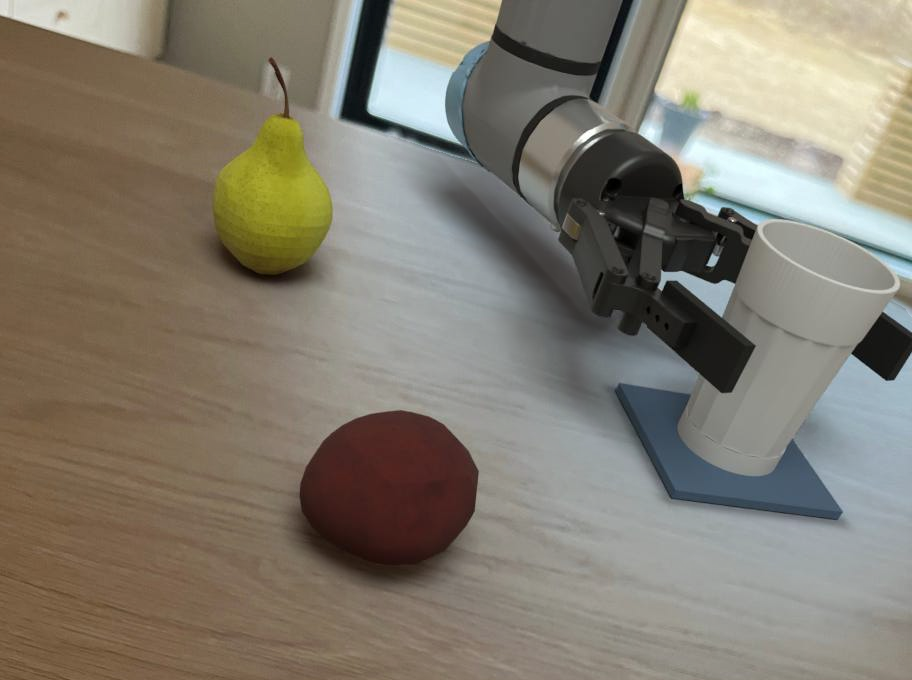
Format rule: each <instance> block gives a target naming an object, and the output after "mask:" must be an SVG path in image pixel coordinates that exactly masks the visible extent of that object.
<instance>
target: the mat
mask: <svg viewBox="0 0 912 680" xmlns="http://www.w3.org/2000/svg"><path fill="white" fill-rule="evenodd" d="M615 392H616V394H617V397H618V398H619V401H620V402H621V404H622V406H623V408H624V409H625V411H626V413H627V416H628V417H629V420H630V421H631V423H632V425H633V427H634V429H635V431H636V433H637V435H638V436H639V438H640V440H641V442H642V444H643V446H644V448H645V450H646V452H647V454H648V456H649V458H650V459H651V461H652V463H653V465H654V467H655V469H656V471H657V473H658V475H659V477H660V479H661V481H662V483H663V485H664V487H665V488H666V490H667V493H668V494H669V496H670V498H671V499H676V500H684V501H691V502H699V503H706V504H715V505H723V506H730V507H739V508H745V509H754V510H762V511H770V512H778V513H784V514H792V515H800V516H807V517H816V518H824V519H832V520H839V519H840V517H841V516H842V514H843V513H844V512H843V510H842V508H841V506H840V505H839V503H838V502H837V501H836V499H835V498H834V497H833V495H832V494H831V492H830V491H829V490H828V488H827V487H826V484H824V482H823V480H822V479H821V478H820V476H819V475H818V474H817V472H816V470H815V469H814V468H813V466H812V465H811V464H810V462H809V461H808V459H807V458H806V456H805V455H804V453H803V452H802V450H801V449H800V448H799V446H798V445H797V443H796V442H795V440H794V439H793V438H792V440H791V441H790V443H789V444H788V445H787V447H786V450H785V452H784V454H783V455H782V457H781V459H780V460H779V462H778V464H777V466H776V467H775V469H774V470H773V471H772V472H771V473H769V474H767V475H763V476H745V475H740V474H736V473H732V472H729V471H726V470H723V469H721V468H719V467H716V466H714V465H712V464H710V463H709V462H707V461H705V460H704V459H702V458H701V457H699V456H698V455H696V454H695V453H694V452H693V451H691V450H690V449H689V448H688V447H687V446H686V445H685V443H684V442H683V441H682V439H681V438H680V436H679V434H678V430H677V425H678V422H679V420H680V418H681V416H682V414H683V412H684V410H685V408H686V406H687V404H688V401H689V399H690V396H691V394H692V393H691V394H690V393H684V392H677V391H672V390H667V389H660V388H654V387H647V386H642V385H636V384H635V385H634V384H628V383H624V382H623V383H622V382H619V383H618V384H617V386H616V389H615Z"/></svg>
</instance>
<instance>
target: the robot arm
mask: <svg viewBox="0 0 912 680" xmlns="http://www.w3.org/2000/svg"><path fill="white" fill-rule="evenodd" d="M622 4H623V0H501V2H500V7H499V10H498V14H497V19H496V22H495V24H494V28H493V30H492V31H493V32H492V34H491V35H490V40H487V41H483V42H482V43H479V44H478V45H476V46H474V47H473V48H471V49H470V50H469V51H467V52H466V54H465V55H463V57H462V60H461V62H460V63H459V64H458V66H457V67H456V69H455V70H454V71H453V72H452V73H451V74H450V75H451V76H450V78H449V80H448V83H447V86H446V91H445V98H444V110H445V111H444V113H445V118H446V122H447V124H448V126H449V129H450V131H451V133H452V134H453V136H454V138H455V139H456V140H457V141H458V142H459V143H460V144H461V145H462V146H463V147H464V148H465V150H466V151H467V152H468V153H469V156H471V158H472V159H473V160H474V161H475V163H477V164H478V166H479V167H480V168H484V169H485V170H486V171H487V172H488V173H491V174H493V176H495V177H496V178H497V179H499V181H501V182H502V183H504V184H505V185H506V186H508V188H510V189H511V190H512V191H513V192H515V193H516V194H517V196H519V197H520V198H522V199H523V200H524V201H525V202H526V203H527V205H529V206H530V207H531V208H533V209H534V210H535V211H536V212H537V213H538V214H540V216H542V217H543V218H544V219H545V220H547V221H548V222H549V223H550V225H549V226H550V229H551V230H552V231H553V232H556V233H559V235H558V238H557V241H558V242H559V243H560V245H562V246H563V248H564V249H565V250H566V251H568V253H569V254H570V255H571V256H572V260H573V263H574V266H575V268H576V271H577V274H578V277H579V280H580V282H581V286H582V288H583V291H584V294H585V297H586V300H587V303H588V306H589V308H590V310H591V312H592V313H593V314H594V315H595V316H597V317H599V318H605V319H607V318H608V319H609V318H611V317H612V316H613V313H614V311H618V312H622V314H621V316H620V319H619V321H618V323H617V326H616V328H617V330H618V331H619V332H621V333H622V334H624V335H626V336H629V337H636V336H638V334H639V332H640V330H641V327H642V325H643V324H644V325H645V326H646V328H647V329H648V330H649V331H650V332H652V333H653V334H654V335H655V336H656V337H657V338H659V340H661V341H662V342H663V343H664V344H665V345H666V346H668V347H669V348H670V349H671V350H672V351H673V352H674V353H675V354H677V355H678V356H679V357H680V358H681V359H682V360H683V361H684V362H686V363H687V364H688V366H690V367H691V368H692V369H693V370H695V371H696V372H697V374H698V375H699V374H700V375H701V376H703V377H704V378H705V379H706V380H707V381H708V382H709V383H710V384H712V385H713V386H714V387H715V388H716V389H717V390H718V391H719V392H721V393H732V391H733V389H734V387H735V385H736V384H737V382H738V380H739V378H740V376H741V374H742V372H743V370H744V368H745V366H746V364H747V362H748V360H749V358H750V357H751V355H752V353H753V351H754V349H755V347H756V345H755V344H753V343H752V342H751V341H750V340H749V339H747V338H746V337H745V336H744V335H742V334H741V333H740V332H739V331H738V330H736V329H735V328H734V327H733V326H731V325H730V324H729V323H728V322H727V321H725V320H724V319H723V318H722V316H721V315H720V314H718V313H717V312H716V311H715V310H713V309H712V308H711V307H710V306H708V305H707V304H706V303H705V302H703V301H702V300H701V299H700V298H699V297H698V296H696V295H695V294H694V293H693V292H691V290H689V288H687V287H686V286H684V285H683V284H682V283H680V281H678V280H672V279H671V280H668V279H667V280H666V281H665V283H664V285H663V288H662V290H661V289H660V288H659V285H660V283H661V281H662V272H664V273H678V272H683V273H685V274H688V275H690V276H693V277H695V278H697V279H700V280H703V281H705V282H707V283H710V284H713V285H716V284H719V283H721V282H723V281H727V282H729V283H731V284H734V285H735V283H736V281H737V278H738V276H739V273H740V270H741V268H742V265H743V263H744V260H745V257H746V255H747V252H748V249H749V247H750V244H751V242H752V239H753V236H754V234H755V231H756V229H757V226H758V224H756V223H754V222H752V221H751V220H750V219H748V218H747V217H745V216H744V215H742V214H740V213H739V212H738V211H736V210H735V209H733V208H732V207H724V206H721V207H720V209H719V211H718V214H717V215H714V214H712V213H710V212H708V211H707V209H706V208H705V207H704V206H703V205H701V204H700V203H697V202H694V201H691V200H689V199H685V194H684V182H683V176H682V172H681V169H680V167H679V166H678V163H677V161H676V160H675V159H674V158H673V157H672V156H671V155H669V154H668V153H667V152H665V151H664V150H663V149H661V148H660V147H658V146H657V145H656V144H654V143H653V142H652V141H651V140H649V139H647V138H646V137H645V136H643V135H641V134H640V133H638V132H637V130H636V129H635V128H634V127H632V126H631V125H629V124H628V123H626V122H625V121H624V120H622V119H621V118H619V117H617V115H615V114H613V112H611V111H609V110H608V109H607V108H605V107H603V106H602V105H601V104H599V103H598V102H596V101H594V100H593V99H592V98H591V97H590V96H591V92H592V89H593V86H594V84H595V81H596V78H597V75H598V73H599V69H600V67H601V64H602V60H603V57H604V54H605V52H606V49H607V46H608V43H609V40H610V38H611V35H612V32H613V28H614V26H615V23H616V20H617V18H618V14H619V12H620V9H621V7H622ZM712 255H714V256H715V257H718V259H717V261H716V263H715V264H714V265H713V266H711V265H708V264H709V262H710V259H711V257H712ZM850 355H852V356H853V357H855V358H856V359H857V360H858V361H860V362H861V363H863V365H865V366H866V367H867V368H869V369H870V370H871V371H872V372H873V373H875V374H877V376H879V377H880V378H882V380H884V381H886V382H892V381H895V380H896V378H897V377H898V376H899V374H900V372H901V371H902V369H903V367H904V366H905V364H906V363H907V361H908V360H909V358H910V356H911V355H912V331H911V330H909V329H908V328H906V327H905V326H903V325H902V324H901V323H900V322H898V321H897V320H895V319H894V318H892V317H891V316H889V315H888V314H887V313H886V312H884V311H883V312H882V313H881V314H880V316H879V317H878V319H877V320H876V321H875V323H874V324H873V326H872V327H871V328H870V330H869V331H868V333H867V334H866V335H865V337H864V338H863V340H862V341H861V342H860V343H858V344H857V346H856V347H855V349H854V350H853V351H852V353H851V354H850Z"/></svg>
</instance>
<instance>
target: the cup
mask: <svg viewBox="0 0 912 680" xmlns="http://www.w3.org/2000/svg"><path fill="white" fill-rule="evenodd" d="M757 225H758V226H757V229H756V231H755V234H754V236H753V239H752V242H751V244H750V247H749V249H748V252H747V255H746V257H745V260H744V263H743V265H742V268H741V270H740V273H739V276H738V278H737V281H736V283H735V284H734V286H733V289H732V291H731V293H730V296H729V298H728V302H727V304H726V306H725V309H724V311H723V314H722V316H721V317H722V318H723V319H724V320H725V321H727V322H728V323H729V324H730V325H731V326H733V327H734V328H735V329H736V330H738V331H739V332H740V333H741V334H742V335H744V336H745V337H746V338H747V339H749V340H750V341H751V342H752V343H753V344H755V345H756V347H755V349H754V351H753V353H752V355H751V357H750V358H749V360H748V362H747V364H746V366H745V368H744V370H743V372H742V374H741V376H740V378H739V380H738V382H737V384H736V385H735V387H734V389H733V391H732V393H721V392H719V391H718V390H717V389H716V388H715V387H714V386H713V385H712V384H710V383H709V382H708V381H707V380H706V379H705V378H704V377H703V376H701V375H700V374H699V373H698V376H697V379H696V382H695V384H694V386H693V389H692V391H691V396H690V399H689V401H688V404H687V406H686V408H685V410H684V412H683V414H682V416H681V418H680V420H679V422H678V425H677V430H678V434H679V436H680V438H681V439H682V441H683V442H684V443H685V445H686V446H687V447H688V448H689V449H690V450H691V451H693V452H694V453H695V454H696V455H698V456H699V457H701V458H702V459H704V460H705V461H707V462H709V463H710V464H712V465H714V466H716V467H719V468H721V469H723V470H726V471H729V472H732V473H736V474H740V475H745V476H763V475H767V474H769V473H771V472H772V471H773V470H774V469H775V467H776V466H777V464H778V462H779V460H780V459H781V457H782V455H783V454H784V452H785V450H786V447H787V445H788V444H789V443H790V441H791V440H792V439H793V438H794V437H795V435H796V434H797V432H798V431H799V430H800V428H801V427H802V426H803V424H804V423H805V421H806V420H807V418H808V417H809V415H810V414H811V412H813V409H814V408H815V406H816V405H817V403H818V402H819V401H820V400H821V398H822V396H823V395H824V394H825V392H826V391H827V389H828V388H829V386H830V385H831V384H832V382H833V380H834V379H835V378H836V376H837V375H838V374H839V371H841V369H842V367H843V366H844V364H845V363H846V362H847V360H848V359H849V357H850V356H851V355H852V354H851V353H852V351H853V350H854V349H855V347H856V346H857V344H858V343H860V342H861V341H862V340H863V338H864V337H865V335H866V334H867V333H868V331H869V330H870V328H871V327H872V326H873V324H874V323H875V321H876V320H877V319H878V317H879V316H880V314H881V313H882V312H884V311H885V309H886V308H887V306H888V304H889V303H890V302H891V301H892V300H893V298H894V296H895V295H896V294H897V293H898V291H899V290H900V288H901V280H900V278H899V276H898V274H897V273H896V272H895V271H894V270H893V269H892V267H890V266H889V265H888V264H887V263H886V262H885V261H884V260H882V259H881V258H880V257H878V256H877V255H875V254H874V253H872V252H870V251H869V250H868V249H866V248H864V247H863V246H861V245H858V244H857V243H855V242H854V241H851V240H849V239H848V238H845V237H843V236H840V235H838V234H836V233H833V232H831V231H828V230H826V229H823V228H821V227H817V226H815V225H811V224H807V223H805V222H804V223H803V222H800V221H794V220H790V219H780V218H772V219H765V220H763V221H761V222H759V223H758V224H757Z"/></svg>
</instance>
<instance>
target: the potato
mask: <svg viewBox="0 0 912 680" xmlns="http://www.w3.org/2000/svg"><path fill="white" fill-rule="evenodd" d="M479 475H480V471H479V469H478V467H477V464H476V463H475V461H474V459H473V456H472V455H471V453H470V451H469V449H468V448H467V447H466V446H465V445H464V444H463V443H462V441H460V440H459V438H458V437H457V436H456V435H455V434H454V433H453V432H451V430H450V429H449V428H448V427H447V426H446V425H445V424H444V423H442V422H441V421H439V420H437V419H434V417H431V416H429V415H426V414H422V413H417V412H413V411H408V410H402V409H398V410H389V411H388V410H387V411H379V412H374V413H369V414H366V415H362V416H358V417H355V418H353V419H351V420H350V421H347V422H346V423H344V424H342V425H340V426H339V427H337V429H335V430H334V431H332V432H331V433H330V434H329V435H328V436H327V437H326V438H324V439H323V440H322V442H321V444H320V445H319V447H318V448H317V449H316V450H315V452H314V454H313V455H312V457H311V459H310V460H309V461H308V463H307V464H306V466H305V469H304V472H303V475H302V478H301V480H300V483H299V503H300V510H301V513H302V515H303V516H304V518H305V519H306V521H307V522H308V524H309V526H310V527H311V528H312V529H313V530H314V532H315V533H316V534H317V535H318V536H319V538H321V539H323V541H326V542H327V543H329V544H330V545H332V546H333V547H335V548H336V549H338V550H339V551H341V552H343V553H346V554H349V555H350V556H353V557H355V558H357V559H360V560H363V561H365V562H367V563H369V564H374V565H375V564H376V565H381V566H387V567H388V566H389V567H399V566H400V567H401V566H414V565H415V566H416V565H419V564H420V563H422V562H425V561H427V560H429V559H433V558H434V557H436V556H438V555H440V554H442V553H444V552H445V551H446V550H447V549H448V548H449V547H450V546H451V544H452V543H453V542H454V541H455V540H456V539H457V538H458V537H459V536H460V534H461V533H462V532H463V531H464V530H465V528H466V527H467V526H468V524H469V523H470V520H471V519H472V517H473V515H474V513H475V511H476V504H477V494H478V484H479Z"/></svg>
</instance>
